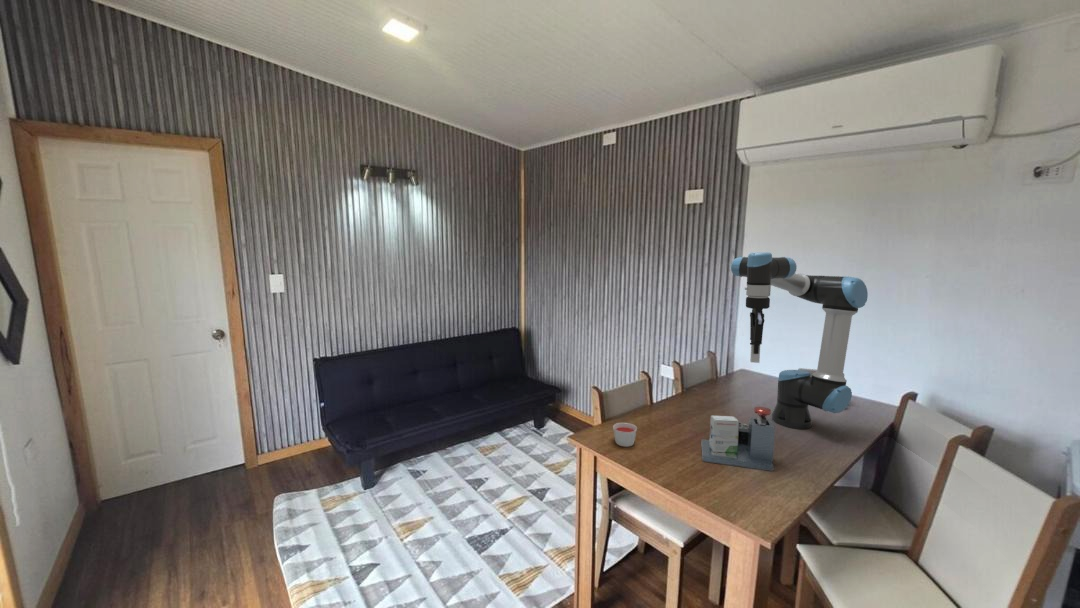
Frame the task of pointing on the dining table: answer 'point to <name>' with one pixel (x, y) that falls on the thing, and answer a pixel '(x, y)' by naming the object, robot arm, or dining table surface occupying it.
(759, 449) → the press
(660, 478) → the dining table surface
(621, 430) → the candle
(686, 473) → the dining table surface
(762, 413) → the plunger
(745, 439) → the camera
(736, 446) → the ink box
